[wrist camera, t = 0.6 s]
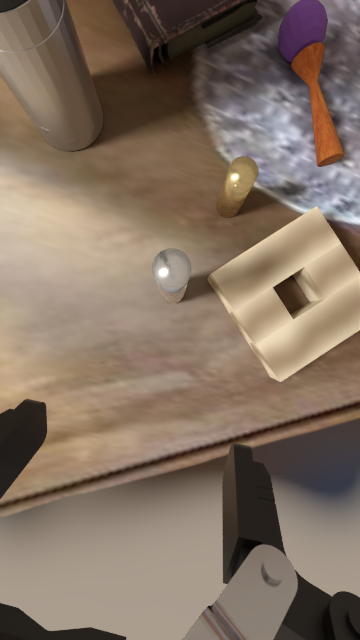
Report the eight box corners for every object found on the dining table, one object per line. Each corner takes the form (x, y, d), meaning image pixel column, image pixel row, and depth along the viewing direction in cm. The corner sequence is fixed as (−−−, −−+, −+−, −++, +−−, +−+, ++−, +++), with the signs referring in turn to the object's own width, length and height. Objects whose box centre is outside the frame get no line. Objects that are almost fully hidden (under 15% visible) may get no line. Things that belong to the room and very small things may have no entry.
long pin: (156, 288, 39) (144, 261, 23) (176, 276, 39) (177, 241, 23) (169, 308, 39) (165, 294, 23) (188, 295, 39) (198, 273, 23)
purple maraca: (315, 157, 36) (278, -5, 35) (301, 176, 42) (270, 38, 41) (364, 141, 35) (328, -26, 34) (344, 162, 41) (312, 21, 40)
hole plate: (207, 279, 39) (210, 273, 35) (302, 218, 40) (316, 206, 36) (269, 376, 39) (280, 381, 35) (364, 314, 40) (386, 312, 36)
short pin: (212, 202, 40) (223, 166, 31) (231, 190, 40) (248, 150, 31) (224, 222, 40) (239, 191, 31) (243, 210, 40) (264, 175, 31)
